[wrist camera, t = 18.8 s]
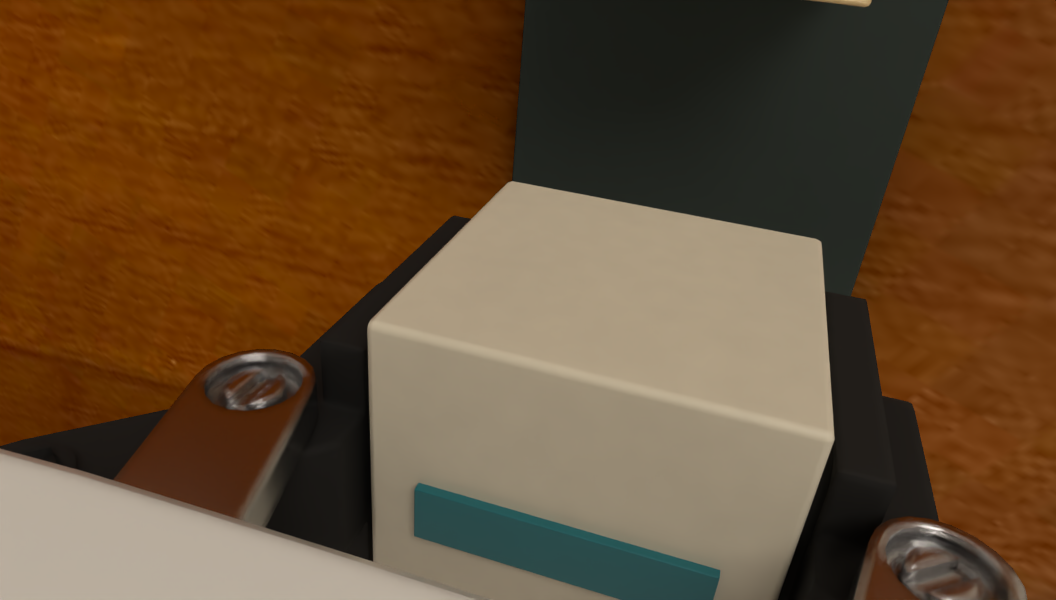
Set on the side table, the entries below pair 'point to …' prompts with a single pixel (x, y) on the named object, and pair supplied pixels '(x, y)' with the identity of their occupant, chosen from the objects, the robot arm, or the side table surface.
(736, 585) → the letter i
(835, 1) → the letter h
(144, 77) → the side table surface
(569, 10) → the word mat
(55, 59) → the side table surface
